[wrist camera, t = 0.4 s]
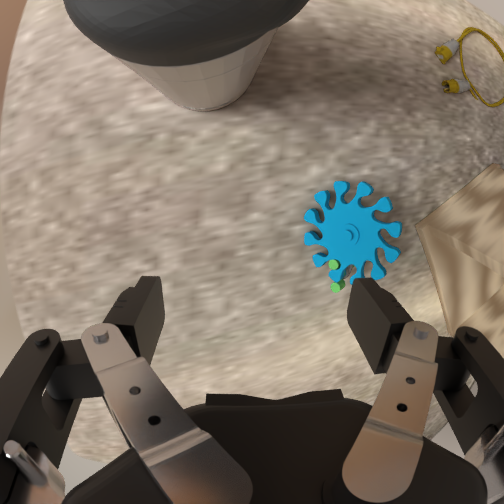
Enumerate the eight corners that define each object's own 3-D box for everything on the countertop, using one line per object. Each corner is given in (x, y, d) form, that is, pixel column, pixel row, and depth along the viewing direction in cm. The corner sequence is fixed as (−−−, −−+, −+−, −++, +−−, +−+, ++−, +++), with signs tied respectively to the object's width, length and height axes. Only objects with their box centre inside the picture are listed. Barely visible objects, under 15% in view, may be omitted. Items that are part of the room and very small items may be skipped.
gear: (314, 164, 27) (416, 206, 22) (340, 165, 31) (426, 200, 26) (286, 268, 32) (369, 316, 27) (314, 254, 36) (387, 294, 31)
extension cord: (427, 4, 23) (435, 0, 21) (503, 48, 24) (512, 47, 23) (432, 89, 27) (442, 88, 25) (507, 122, 29) (517, 123, 27)
